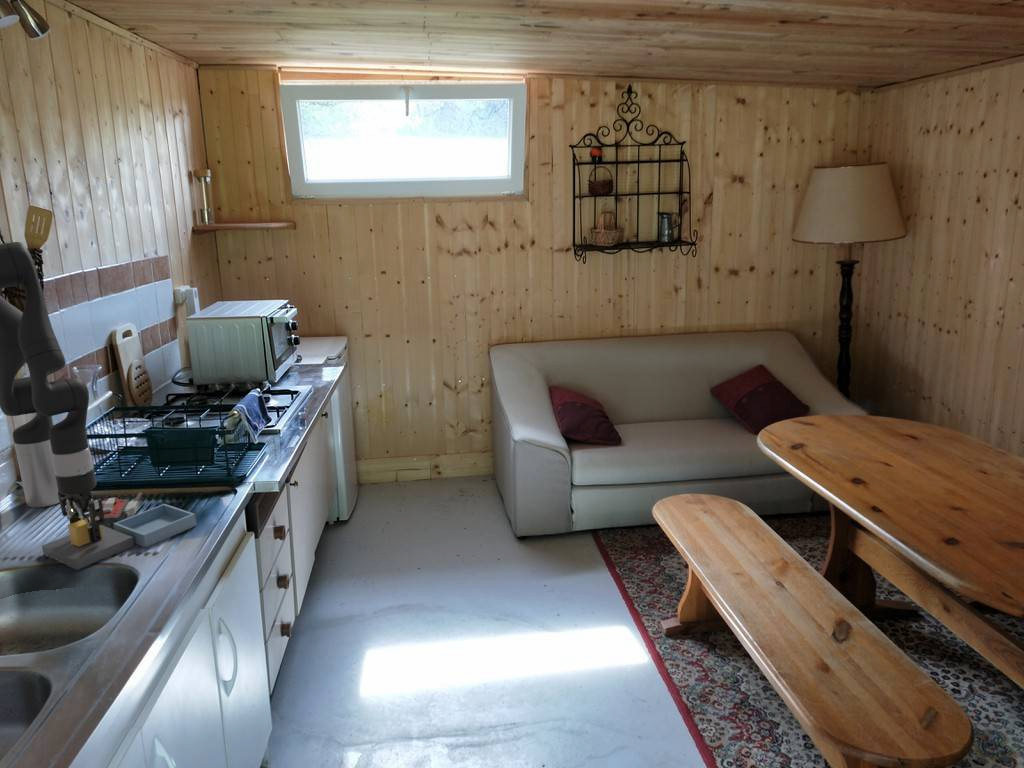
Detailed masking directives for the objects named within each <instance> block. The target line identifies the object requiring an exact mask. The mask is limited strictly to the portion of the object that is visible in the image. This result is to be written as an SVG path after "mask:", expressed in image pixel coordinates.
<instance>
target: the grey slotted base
mask: <svg viewBox="0 0 1024 768" xmlns="http://www.w3.org/2000/svg"><path fill="white" fill-rule="evenodd" d="M101 527H102V533H103V537H102V538H101V541H99V542H96V543H91V542H89V543H87V544H84V545H82V546H79V547H77V546H76V545H73V544H71V539H70V534H68V535H66V536H63V537H61V538H58V539H55V540H53V541H51V542H48V543H46V544H43V545H41V549H42V553H43V555H44V554H46V555H48V556H50V557H52V558H55V559H57V560H59V561H62V562H64V563H65V564H66V565H65V564H64V565H65V566H67V567H69V568H72V569H74V570H76V571H79V570H81V569H84V568H85V567H88V566H90V565H93V564H94V562H95V563H97V562H96V561H98V560H100V561H102V560H105V559H107V558H109V557H111V556H115V554H116V555H117V554H119V553H121V552H123V551H126V550H128V549H130V548H133V547H135V543H134V542H133V537H131V536H129V535H126V534H124V533H121V532H118V531H116V530H114V528H108V527H106V526H103V525H101ZM46 555H45V556H46ZM48 556H47V557H48ZM50 557H49V558H50ZM52 558H51V559H52ZM101 559H102V560H101ZM59 561H58V562H59ZM98 562H99V561H98ZM92 563H93V564H92Z"/></svg>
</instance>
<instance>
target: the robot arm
mask: <svg viewBox="0 0 1024 768" xmlns="http://www.w3.org/2000/svg"><path fill="white" fill-rule="evenodd" d="M21 285H22V286H23V288H24V292H25V303H24V308H23V311H21V310H20V309H19V308H17V307H16V306H14V305H12V303H10V302H8V301H7V300H6V299H5V298H4V297H2V296H1V295H0V409H1V412H2V414H4V415H5V416H8V417H17V416H22V415H23V416H24V415H29V414H35V416H34V417H33V418H32V419H30V420H29V421H27V423H25V424H22V425H20V426H18V427H16V428H15V429H14V430H13V432H12V438H13V439H12V440H13V445H14V449H15V454H16V458H17V462H18V463H17V464H18V467H19V472H20V479H21V482H22V488H23V493H24V494H23V495H24V497H25V502H26V506H27V507H29V508H45V507H50V506H54V505H57V504H59V506H60V509H61V510H60V511H61V515H62V516H63V517H66V519H67V521H69V525H70V524H72V523H75V522H77V521H80V520H84V521H85V523H86V525H87V527H88V534H89V539H90V542H91V543H96V542H99V541H101V534H100V528H99V525H102V524H105V520H104V513H103V506H102V503H103V501H102V499H101V498H98V499H95V498H94V495H93V494H92V490H93V489H94V488H96V486H97V480H96V479H97V478H96V473H95V472H96V471H95V468H94V467H95V466H94V462H93V456H92V453H91V450H90V447H89V441H88V434H87V429H86V428H87V415H88V409H89V403H90V392H89V389H88V386H87V385H86V383H85V382H84V381H83V380H81V379H80V378H78V377H69V378H64V379H61V380H60V379H59V380H55V381H50V382H49V381H48V376H50V375H52V374H55V373H57V372H59V371H61V370H62V369H63V368H64V367H65V366H66V364H67V363H66V358H65V356H64V354H63V351H62V349H61V346H60V344H59V341H58V339H57V337H56V334H55V332H54V330H53V326H52V322H51V320H50V316H49V313H48V312H49V311H48V307H47V304H46V300H45V297H44V293H43V289H42V285H41V283H40V278H39V275H38V272H37V268H36V265H35V263H34V260H33V257H32V255H31V253H30V250H29V249H28V247H27V246H26V245H25V244H24V243H22V242H19V241H10V242H5V243H0V289H5V288H12V287H16V286H21ZM25 364H26V365H27V368H28V372H29V376H25V377H18V378H15V377H16V375H18V372H19V371H20V370H21V369H22V368H23V367H24V366H25ZM65 413H67V415H66V417H65V418H64V419H63V420H61V421H59V422H57V423H55V424H54V422H53V416H57V415H60V414H65ZM98 516H99V517H98ZM89 517H90V520H89ZM90 521H91V522H90Z"/></svg>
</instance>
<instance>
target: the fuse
mask: <svg viewBox="0 0 1024 768" xmlns="http://www.w3.org/2000/svg"><path fill="white" fill-rule="evenodd" d="M89 520H90V517H89ZM90 522H91V521H90ZM99 528H100V534H101V538H102V537H103V533H102V527H101V525H99ZM67 529H68V533H69V535H70V539H71V544H73V545H76V546H77V547H79V546H82V545H84V544H87V543H89V542H90V539H89V534H88V527H87V525H86V523H85V521H84V520H82V519H81V520H80V521H77V522H75V523H72V524H70V523H69V524H68V525H67Z"/></svg>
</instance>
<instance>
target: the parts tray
mask: <svg viewBox="0 0 1024 768" xmlns="http://www.w3.org/2000/svg"><path fill="white" fill-rule="evenodd" d="M113 525H114V528H113V530H116V531H118V532H121V533H124V534H126V535H129V536H131V537H133V542H134V544H136V545H138V546H141V547H143V548H148V547H150V546H152V545H154V544H158V543H160V542H162V541H164V540H168V539H169V538H170V537H173V536H175V535H178V534H180V533H182V532H185V531H187V530H190V529H192V528H194V527H197V520H196V514H195V513H193V512H190V511H187V510H184V509H181V508H179V507H175V506H172V505H169V504H166V503H162V504H159V505H158V506H155V507H152V508H150V509H147V510H144V511H142V512H140V513H137V514H134V515H132V516H130V517H128V518H125V519H124V520H121V521H119V522H116V523H114V524H113Z"/></svg>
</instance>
